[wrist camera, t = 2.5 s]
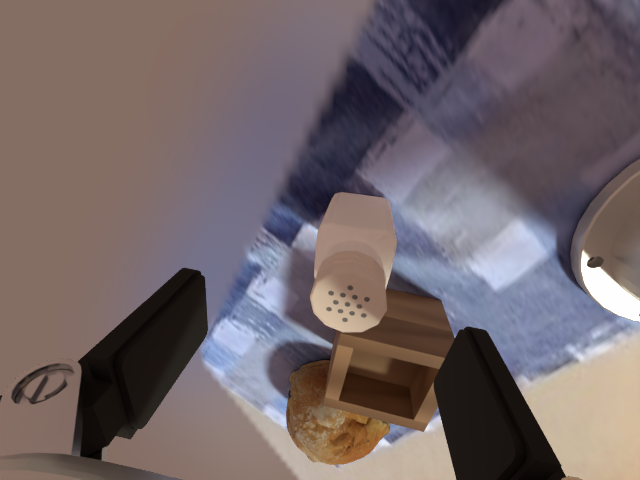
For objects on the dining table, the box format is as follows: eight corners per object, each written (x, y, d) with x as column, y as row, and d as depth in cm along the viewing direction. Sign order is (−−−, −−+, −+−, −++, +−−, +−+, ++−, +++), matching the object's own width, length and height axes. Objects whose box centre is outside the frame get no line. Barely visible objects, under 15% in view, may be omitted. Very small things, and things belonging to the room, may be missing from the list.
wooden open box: (348, 278, 22) (340, 333, 17) (440, 299, 22) (463, 362, 16) (333, 343, 26) (322, 405, 20) (412, 362, 25) (423, 431, 20)
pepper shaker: (333, 188, 19) (302, 254, 11) (392, 196, 18) (408, 271, 10) (327, 239, 21) (297, 331, 12) (381, 247, 20) (387, 348, 12)
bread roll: (314, 323, 30) (260, 377, 24) (407, 372, 24) (367, 456, 18) (314, 384, 34) (268, 442, 28) (392, 436, 29) (356, 521, 23)
